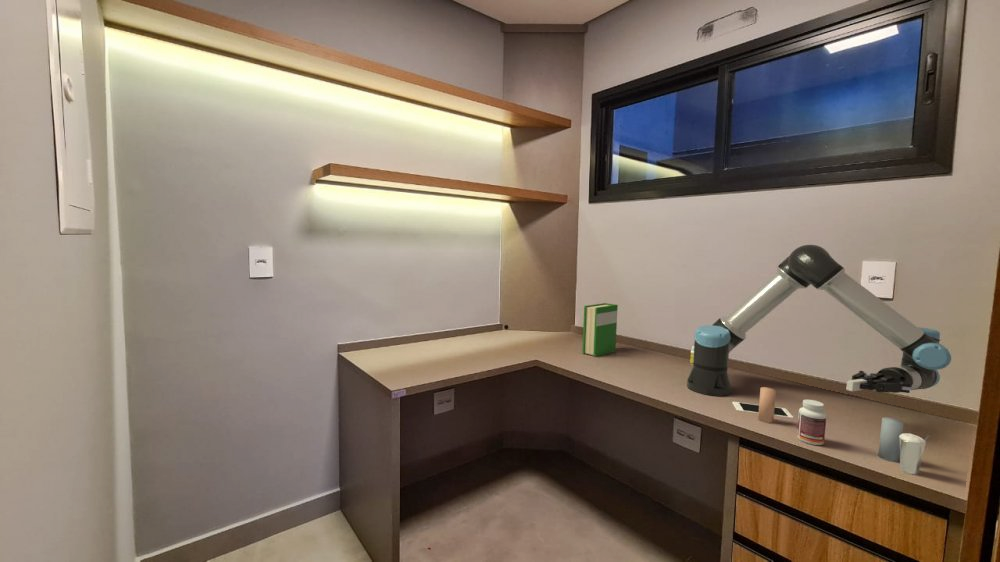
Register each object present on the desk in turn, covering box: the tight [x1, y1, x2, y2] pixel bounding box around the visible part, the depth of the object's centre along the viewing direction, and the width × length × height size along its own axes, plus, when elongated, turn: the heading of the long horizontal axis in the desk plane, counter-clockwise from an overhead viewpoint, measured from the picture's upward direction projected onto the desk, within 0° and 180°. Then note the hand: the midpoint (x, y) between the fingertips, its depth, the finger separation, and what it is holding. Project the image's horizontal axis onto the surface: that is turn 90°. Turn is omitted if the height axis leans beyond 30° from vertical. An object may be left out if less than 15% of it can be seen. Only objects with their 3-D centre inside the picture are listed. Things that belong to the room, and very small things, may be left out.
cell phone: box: [731, 401, 794, 419], centre depth 136 cm, size 8×16×1 cm, turn 71°
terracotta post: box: [757, 386, 777, 424], centre depth 127 cm, size 4×4×10 cm
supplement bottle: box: [689, 345, 694, 367], centre depth 186 cm, size 5×5×8 cm
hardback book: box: [581, 302, 619, 358], centre depth 204 cm, size 18×7×24 cm, turn 132°
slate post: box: [878, 417, 905, 463], centre depth 105 cm, size 4×4×10 cm
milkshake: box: [899, 432, 931, 475], centre depth 99 cm, size 4×5×10 cm
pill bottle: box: [796, 399, 827, 446], centre depth 114 cm, size 6×6×11 cm
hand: (849, 385), depth 118 cm, fingers closed
